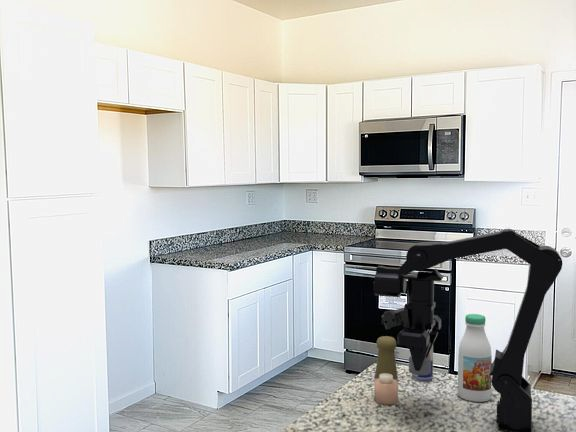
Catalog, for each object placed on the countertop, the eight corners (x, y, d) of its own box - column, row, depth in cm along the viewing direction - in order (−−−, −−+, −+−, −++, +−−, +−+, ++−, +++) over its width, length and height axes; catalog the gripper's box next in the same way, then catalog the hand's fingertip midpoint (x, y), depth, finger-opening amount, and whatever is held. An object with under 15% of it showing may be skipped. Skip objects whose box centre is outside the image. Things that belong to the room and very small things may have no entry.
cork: (397, 382, 144) (397, 341, 143) (374, 380, 145) (374, 339, 145) (397, 374, 150) (398, 334, 149) (375, 372, 151) (375, 333, 150)
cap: (432, 369, 125) (432, 357, 125) (428, 376, 121) (428, 363, 121) (411, 366, 128) (411, 354, 127) (406, 373, 123) (406, 360, 123)
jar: (400, 397, 134) (400, 373, 133) (394, 406, 129) (394, 381, 128) (377, 394, 136) (378, 370, 136) (371, 402, 131) (371, 377, 131)
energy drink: (411, 381, 145) (411, 336, 144) (412, 374, 150) (413, 331, 149) (432, 383, 143) (432, 337, 142) (433, 376, 148) (433, 332, 147)
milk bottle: (451, 396, 134) (452, 315, 133) (468, 388, 140) (469, 310, 138) (480, 405, 129) (482, 321, 127) (497, 396, 134) (498, 315, 133)
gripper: (395, 288, 135) (395, 350, 136) (373, 304, 118) (373, 375, 119) (441, 292, 130) (441, 356, 131) (426, 309, 114) (425, 382, 115)
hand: (419, 367), depth 124 cm, fingers closed on cap, 5 cm apart
